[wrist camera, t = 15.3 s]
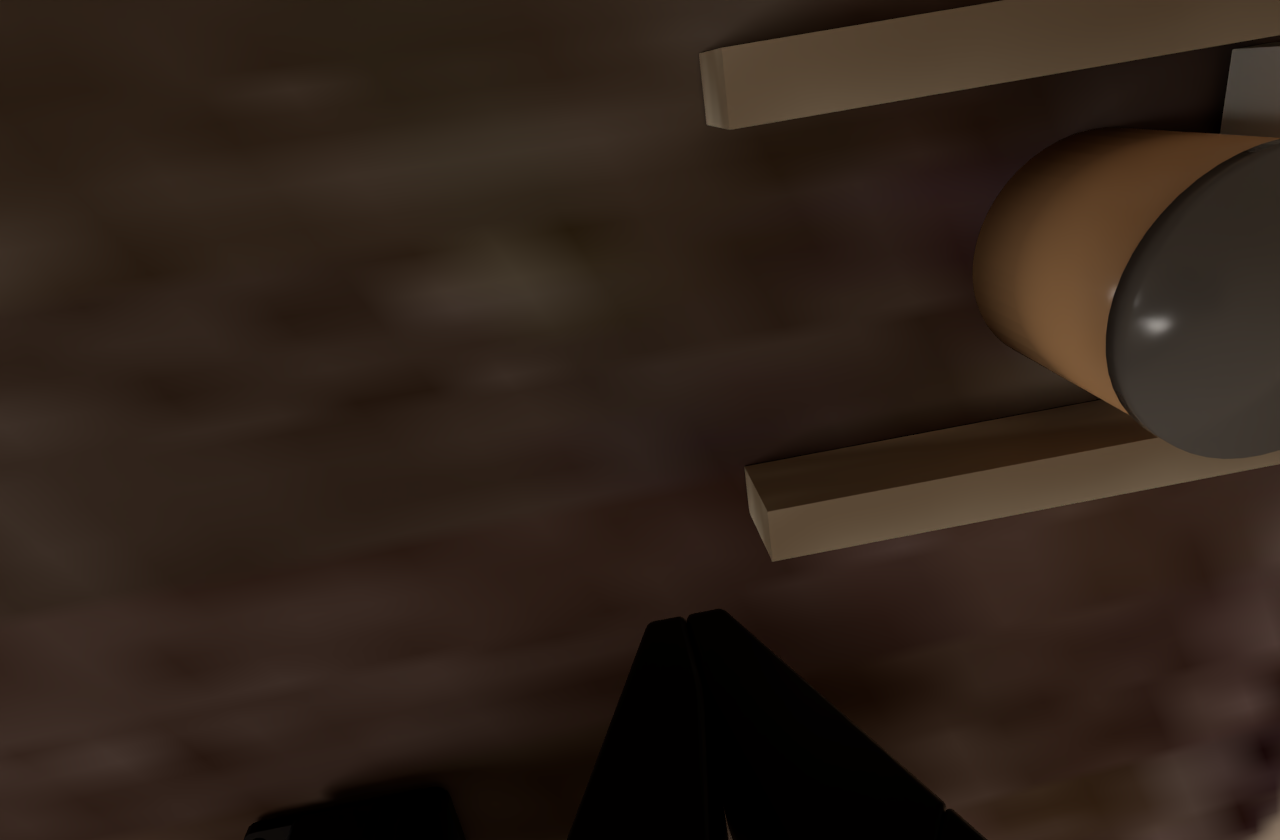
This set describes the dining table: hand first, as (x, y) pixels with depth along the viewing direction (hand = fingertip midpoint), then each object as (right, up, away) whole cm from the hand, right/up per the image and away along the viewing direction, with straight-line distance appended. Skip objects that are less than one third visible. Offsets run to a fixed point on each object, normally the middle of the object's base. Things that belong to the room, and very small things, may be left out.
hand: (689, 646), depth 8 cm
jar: (+11, +7, +11) cm, 17 cm away
